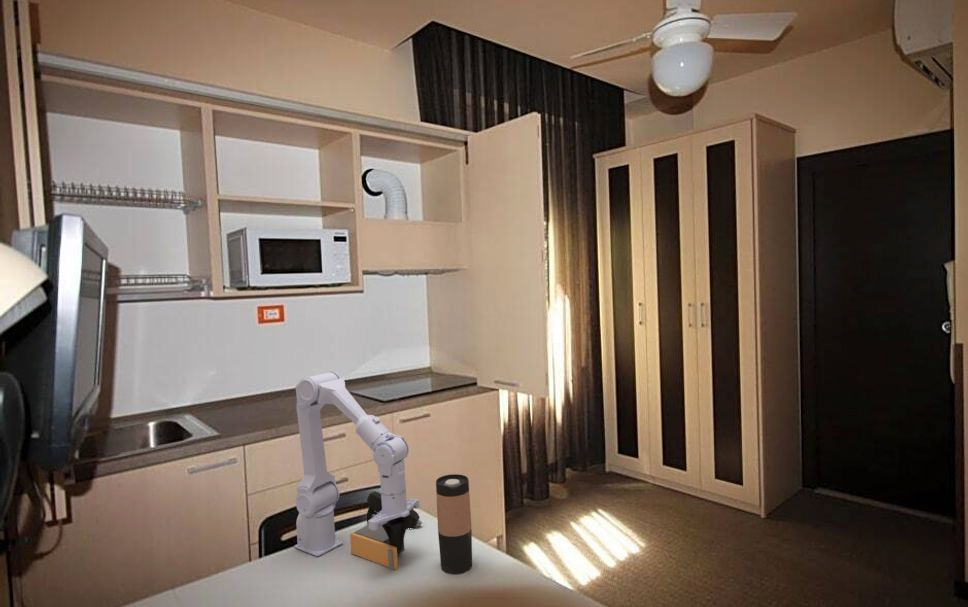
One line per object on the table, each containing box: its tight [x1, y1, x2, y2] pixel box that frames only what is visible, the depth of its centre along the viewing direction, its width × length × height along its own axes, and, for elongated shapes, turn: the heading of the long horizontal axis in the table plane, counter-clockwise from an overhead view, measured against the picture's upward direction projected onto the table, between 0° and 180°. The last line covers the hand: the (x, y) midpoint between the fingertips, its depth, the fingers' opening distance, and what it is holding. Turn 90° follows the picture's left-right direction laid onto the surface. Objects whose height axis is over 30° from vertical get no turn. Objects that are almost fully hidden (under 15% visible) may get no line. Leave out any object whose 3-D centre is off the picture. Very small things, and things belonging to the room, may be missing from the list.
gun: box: [366, 491, 423, 530], centre depth 146 cm, size 3×16×10 cm, turn 79°
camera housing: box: [353, 524, 405, 556], centre depth 132 cm, size 12×7×6 cm, turn 54°
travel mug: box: [435, 473, 473, 575], centre depth 123 cm, size 8×8×20 cm
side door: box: [349, 532, 399, 570], centre depth 127 cm, size 15×1×5 cm, turn 54°
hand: (396, 548), depth 125 cm, fingers closed
